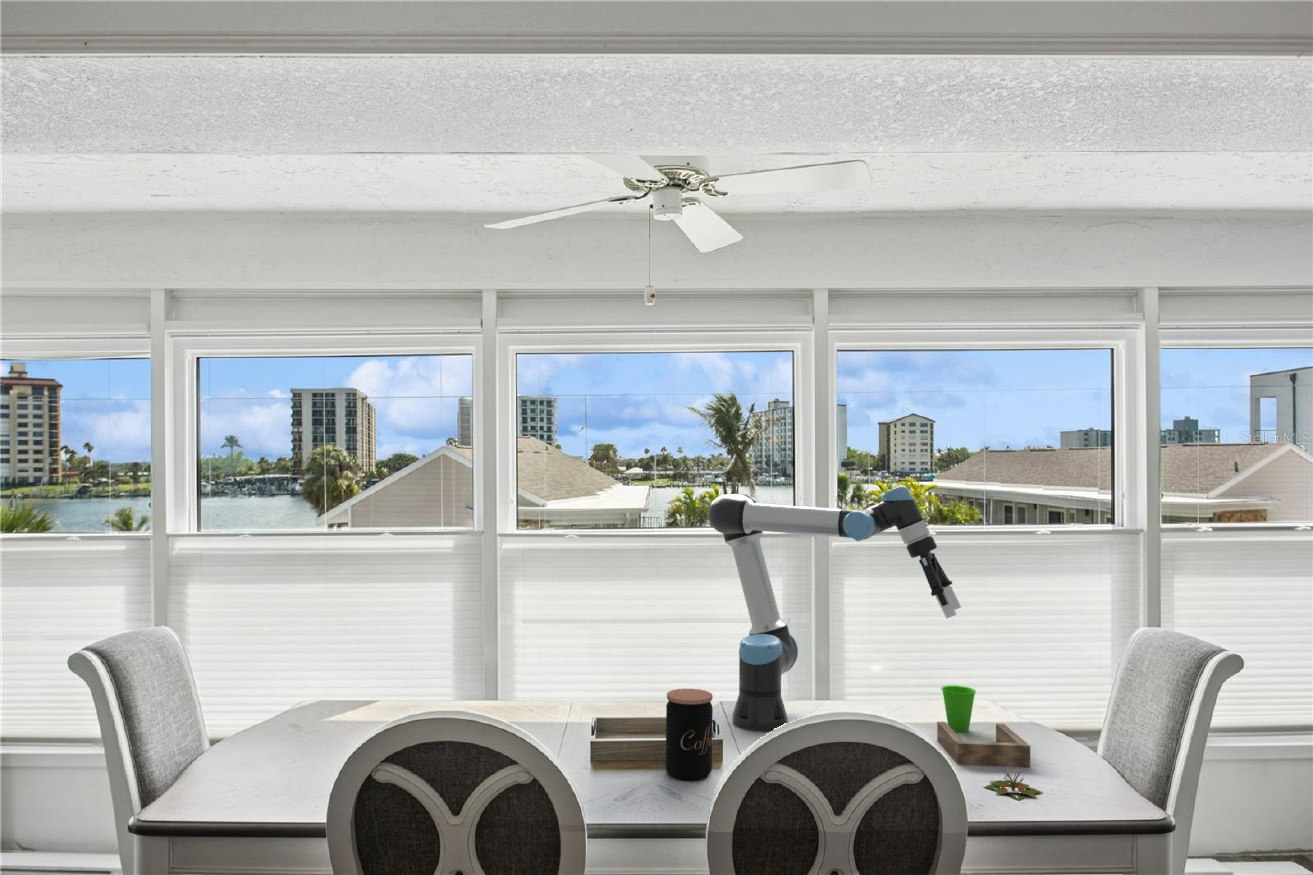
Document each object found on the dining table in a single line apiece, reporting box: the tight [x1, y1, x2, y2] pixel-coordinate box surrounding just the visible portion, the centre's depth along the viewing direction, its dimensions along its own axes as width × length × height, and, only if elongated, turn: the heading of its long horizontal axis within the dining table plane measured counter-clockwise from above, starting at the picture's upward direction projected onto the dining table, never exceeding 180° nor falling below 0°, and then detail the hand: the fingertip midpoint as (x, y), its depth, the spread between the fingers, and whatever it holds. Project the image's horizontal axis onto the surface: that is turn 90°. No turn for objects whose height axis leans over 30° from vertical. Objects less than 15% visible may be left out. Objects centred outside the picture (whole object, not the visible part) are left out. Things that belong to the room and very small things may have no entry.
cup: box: [940, 684, 977, 734], centre depth 228 cm, size 9×9×11 cm
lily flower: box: [984, 768, 1042, 801], centre depth 184 cm, size 12×12×5 cm
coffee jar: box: [665, 688, 714, 782], centre depth 191 cm, size 11×11×18 cm
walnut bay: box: [936, 721, 1031, 768], centre depth 208 cm, size 17×18×5 cm
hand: (954, 612), depth 224 cm, fingers open, 13 cm apart
